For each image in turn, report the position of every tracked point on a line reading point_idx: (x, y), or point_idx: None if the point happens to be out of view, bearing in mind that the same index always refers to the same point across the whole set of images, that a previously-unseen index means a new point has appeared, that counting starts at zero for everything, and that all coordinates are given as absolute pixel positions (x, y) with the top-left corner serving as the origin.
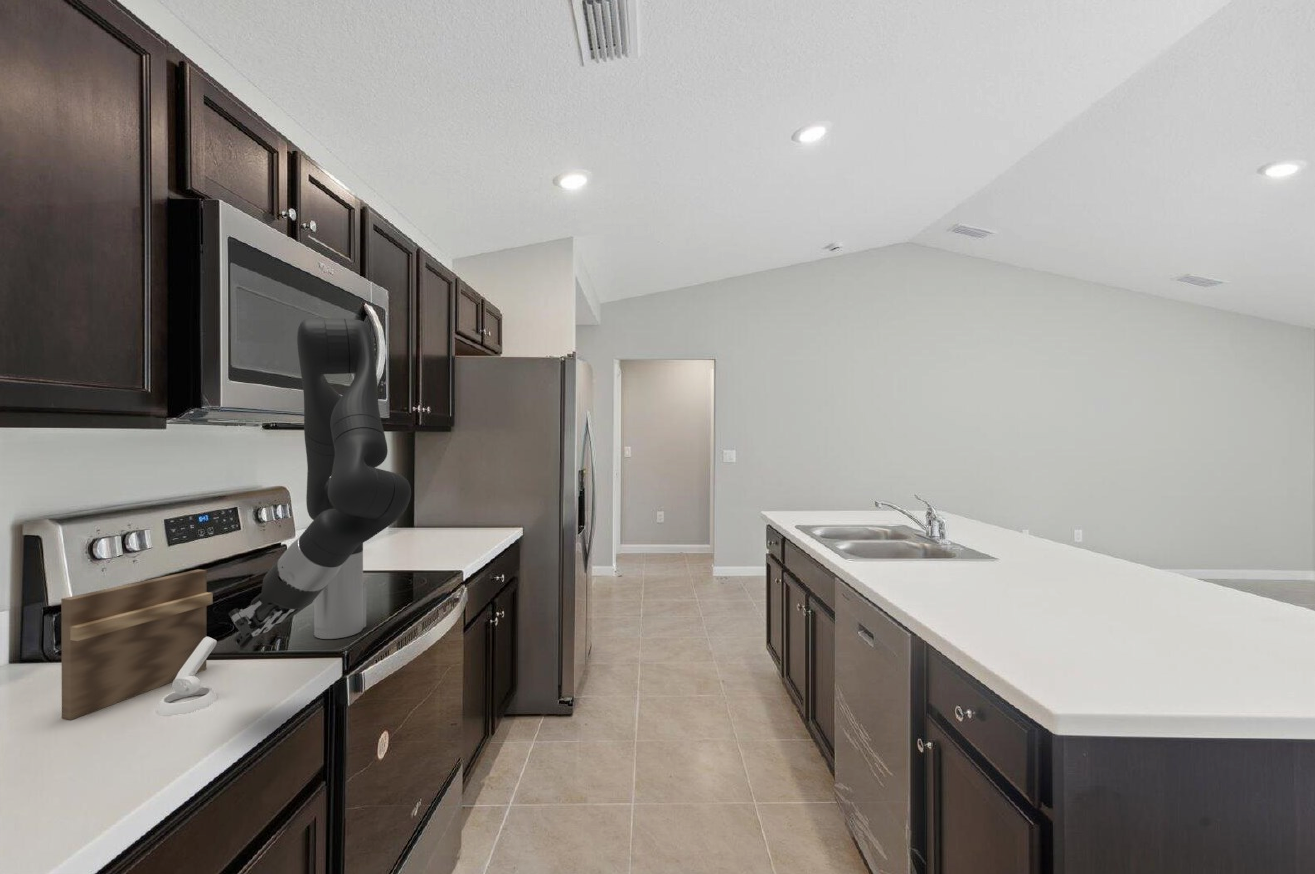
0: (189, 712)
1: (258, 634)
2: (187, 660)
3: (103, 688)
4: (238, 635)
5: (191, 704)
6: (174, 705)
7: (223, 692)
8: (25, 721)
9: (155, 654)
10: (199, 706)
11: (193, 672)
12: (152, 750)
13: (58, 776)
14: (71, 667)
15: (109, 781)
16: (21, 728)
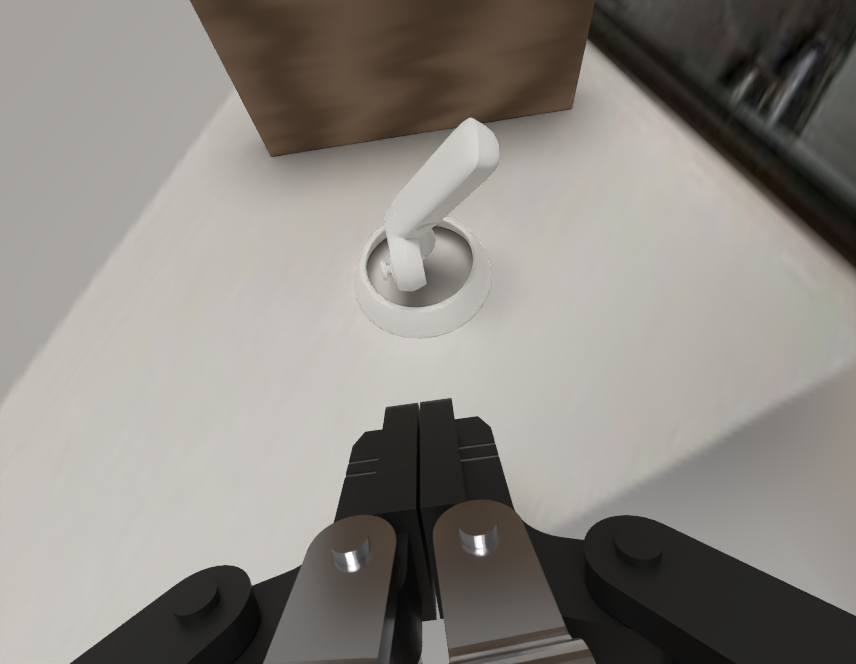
0: (391, 332)
1: (432, 618)
2: (414, 177)
3: (317, 107)
4: (346, 480)
5: (397, 318)
6: (367, 293)
7: (515, 280)
8: None
9: (436, 42)
10: (415, 331)
11: (416, 232)
12: (208, 480)
13: (71, 410)
14: (211, 37)
15: (59, 563)
16: (221, 126)
